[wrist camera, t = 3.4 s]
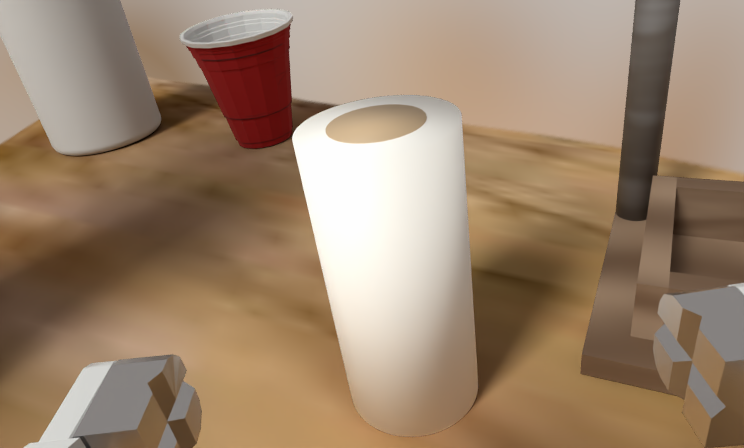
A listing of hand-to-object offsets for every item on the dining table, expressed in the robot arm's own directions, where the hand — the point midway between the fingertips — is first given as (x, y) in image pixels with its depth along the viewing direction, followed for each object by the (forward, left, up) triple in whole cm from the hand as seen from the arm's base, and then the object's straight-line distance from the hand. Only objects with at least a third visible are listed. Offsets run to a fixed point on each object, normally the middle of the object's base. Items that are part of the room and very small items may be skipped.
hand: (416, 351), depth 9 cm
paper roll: (+10, +6, -13) cm, 17 cm away
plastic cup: (+36, +34, -13) cm, 51 cm away
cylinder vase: (+34, +56, -13) cm, 67 cm away
